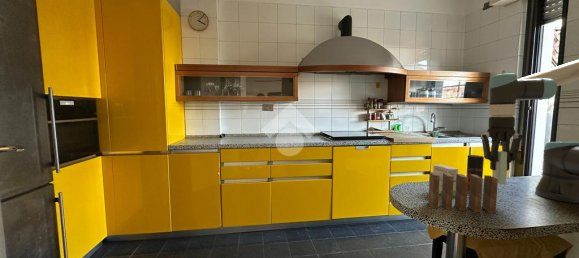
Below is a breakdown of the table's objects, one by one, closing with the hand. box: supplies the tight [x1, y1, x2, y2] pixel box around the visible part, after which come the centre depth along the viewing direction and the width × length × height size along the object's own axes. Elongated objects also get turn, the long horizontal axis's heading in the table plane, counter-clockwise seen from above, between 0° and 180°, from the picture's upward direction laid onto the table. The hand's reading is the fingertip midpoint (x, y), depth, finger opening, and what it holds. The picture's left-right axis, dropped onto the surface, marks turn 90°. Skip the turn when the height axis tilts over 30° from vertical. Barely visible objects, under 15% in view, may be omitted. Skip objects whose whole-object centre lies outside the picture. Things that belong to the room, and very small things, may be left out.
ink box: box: [432, 164, 459, 198], centre depth 108 cm, size 9×5×12 cm, turn 12°
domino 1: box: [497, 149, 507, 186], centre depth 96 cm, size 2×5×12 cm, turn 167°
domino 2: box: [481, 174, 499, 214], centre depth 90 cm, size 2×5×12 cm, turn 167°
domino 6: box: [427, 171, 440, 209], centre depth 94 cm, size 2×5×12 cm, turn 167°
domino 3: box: [467, 174, 484, 213], centre depth 91 cm, size 2×5×12 cm, turn 167°
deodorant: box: [465, 154, 485, 190], centre depth 116 cm, size 6×6×15 cm
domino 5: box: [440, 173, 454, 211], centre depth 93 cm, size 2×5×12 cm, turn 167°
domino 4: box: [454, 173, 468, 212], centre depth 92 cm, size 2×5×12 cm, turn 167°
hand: (499, 178), depth 96 cm, fingers closed on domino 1, 2 cm apart
